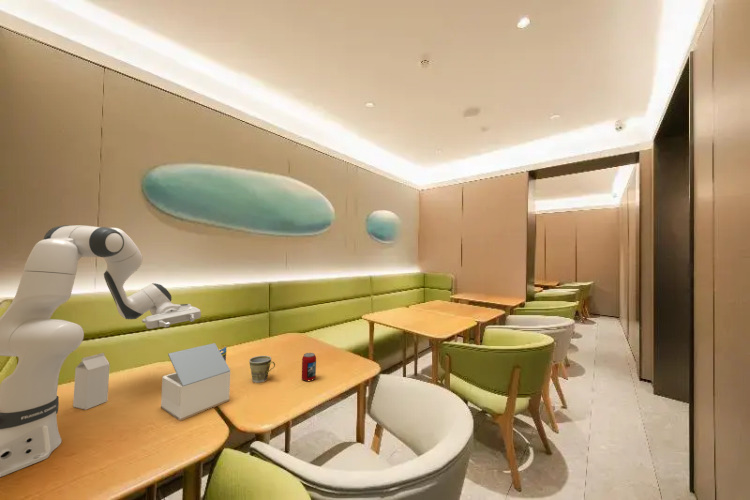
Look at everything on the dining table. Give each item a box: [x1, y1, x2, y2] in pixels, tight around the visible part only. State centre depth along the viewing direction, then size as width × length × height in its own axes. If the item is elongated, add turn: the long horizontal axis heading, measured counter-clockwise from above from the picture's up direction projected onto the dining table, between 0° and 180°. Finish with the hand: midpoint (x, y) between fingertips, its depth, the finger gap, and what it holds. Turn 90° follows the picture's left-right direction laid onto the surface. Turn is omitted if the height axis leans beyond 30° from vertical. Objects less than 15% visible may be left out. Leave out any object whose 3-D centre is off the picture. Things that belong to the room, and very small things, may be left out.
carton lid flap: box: [167, 343, 231, 387], centre depth 113 cm, size 16×18×1 cm
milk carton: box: [72, 352, 111, 410], centre depth 112 cm, size 7×7×19 cm
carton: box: [160, 371, 231, 422], centre depth 114 cm, size 16×19×12 cm
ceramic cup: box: [248, 355, 276, 384], centre depth 138 cm, size 13×10×10 cm
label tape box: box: [218, 346, 227, 363], centre depth 145 cm, size 9×4×12 cm, turn 178°
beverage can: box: [301, 352, 317, 382], centre depth 140 cm, size 7×7×12 cm
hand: (180, 322), depth 121 cm, fingers open, 8 cm apart
